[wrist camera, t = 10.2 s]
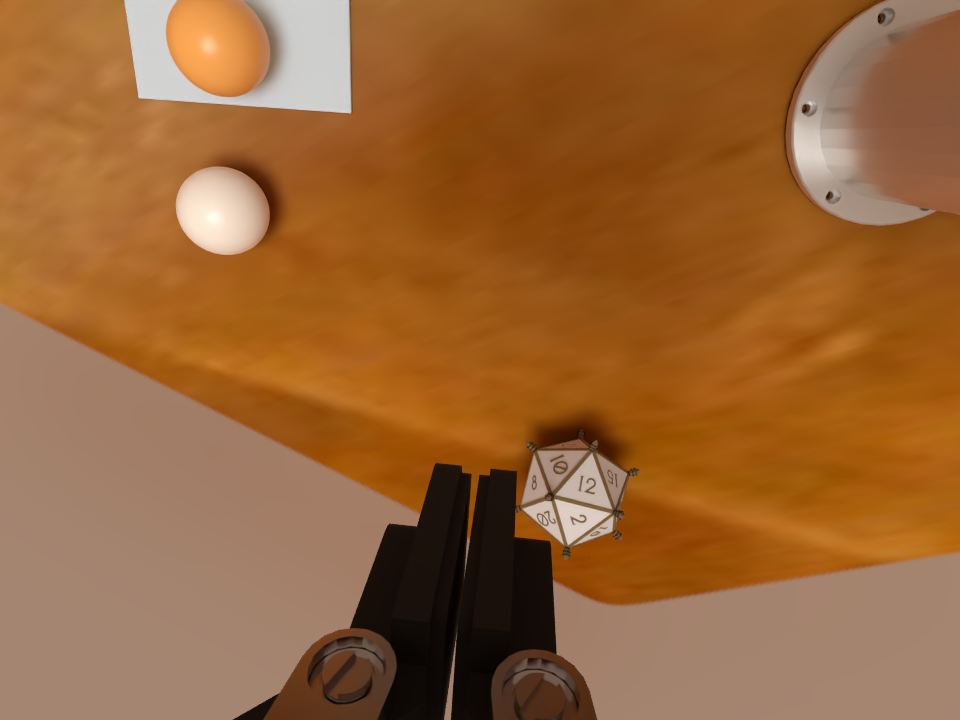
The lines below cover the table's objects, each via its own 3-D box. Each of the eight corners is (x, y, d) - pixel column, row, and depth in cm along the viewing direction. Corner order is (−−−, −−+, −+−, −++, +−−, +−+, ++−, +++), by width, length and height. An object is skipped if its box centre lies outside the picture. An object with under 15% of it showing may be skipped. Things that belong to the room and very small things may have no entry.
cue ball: (265, 270, 36) (291, 225, 40) (231, 190, 32) (264, 149, 36) (184, 272, 36) (218, 228, 40) (141, 194, 33) (184, 153, 37)
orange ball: (287, 99, 36) (281, -1, 34) (251, 103, 31) (240, -15, 29) (203, 91, 36) (191, -9, 34) (154, 94, 31) (134, -24, 29)
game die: (570, 457, 48) (554, 578, 43) (502, 414, 44) (475, 543, 39) (664, 442, 42) (658, 580, 37) (596, 390, 38) (579, 539, 33)
